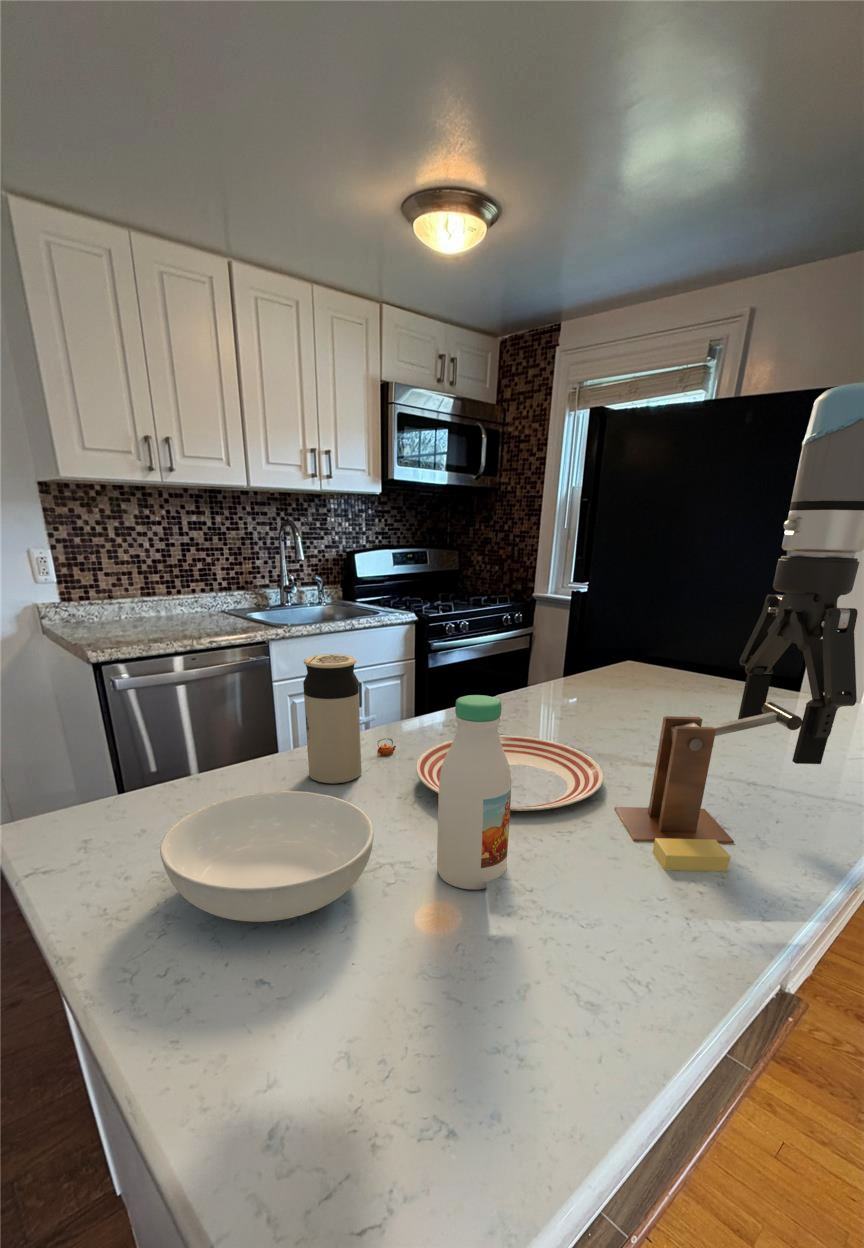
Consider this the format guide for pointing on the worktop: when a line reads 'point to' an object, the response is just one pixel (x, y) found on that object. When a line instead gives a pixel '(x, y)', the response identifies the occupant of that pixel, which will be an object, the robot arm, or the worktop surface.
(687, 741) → the brown lever stand
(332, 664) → the travel mug
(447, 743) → the dinner plate
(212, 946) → the worktop surface
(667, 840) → the butter
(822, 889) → the worktop surface
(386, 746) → the teapot
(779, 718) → the metal lever handle
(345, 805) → the serving bowl
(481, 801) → the milk bottle
